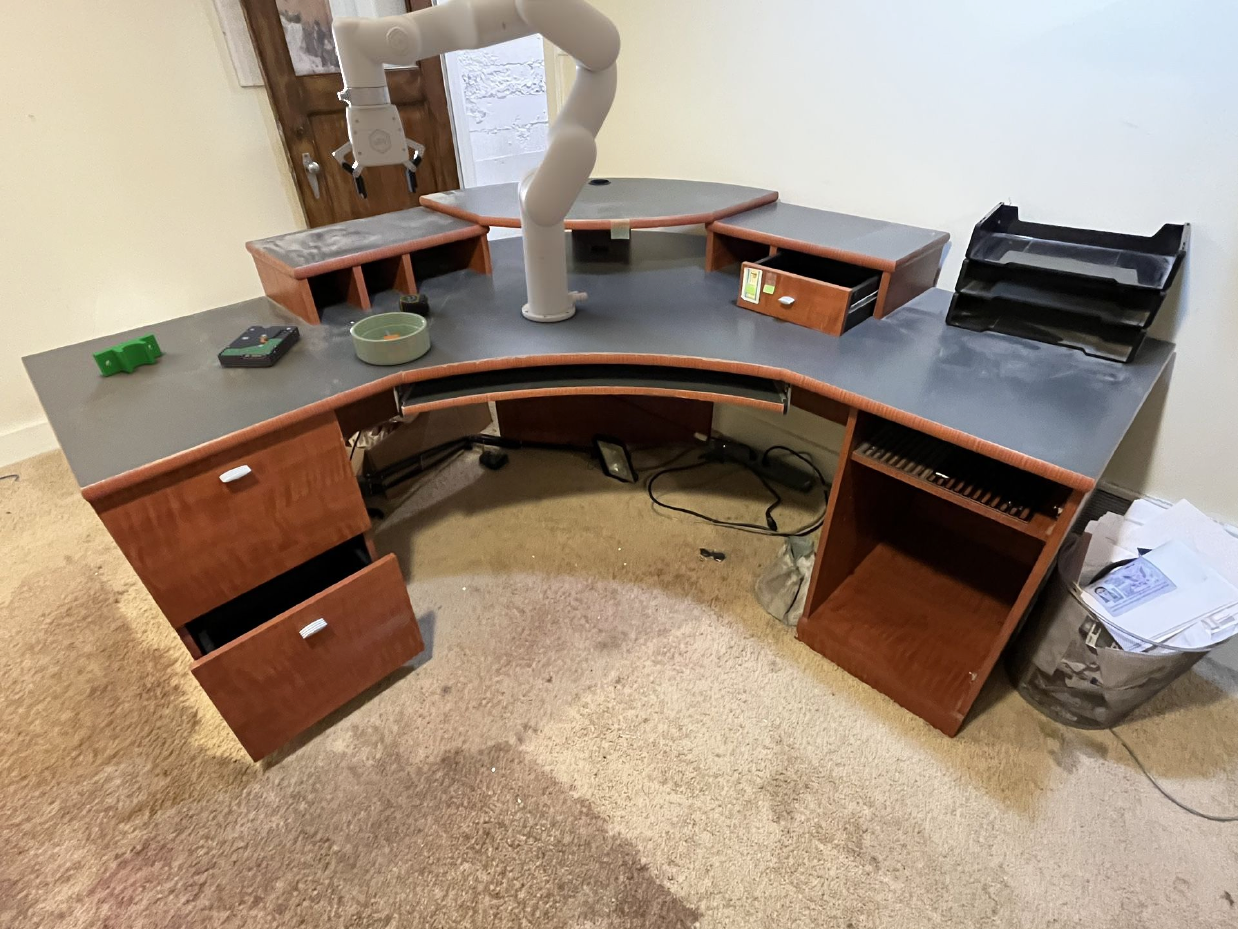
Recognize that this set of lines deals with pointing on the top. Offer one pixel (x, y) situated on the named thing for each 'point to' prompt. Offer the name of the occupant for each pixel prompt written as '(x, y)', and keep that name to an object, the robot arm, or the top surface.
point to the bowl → (392, 350)
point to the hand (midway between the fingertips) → (389, 194)
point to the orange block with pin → (390, 336)
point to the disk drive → (259, 346)
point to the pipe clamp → (128, 355)
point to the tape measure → (414, 304)
